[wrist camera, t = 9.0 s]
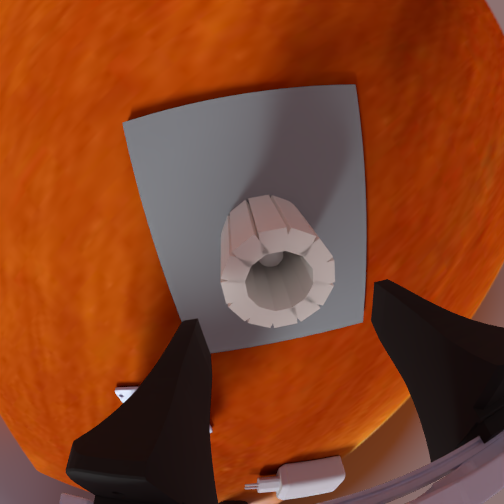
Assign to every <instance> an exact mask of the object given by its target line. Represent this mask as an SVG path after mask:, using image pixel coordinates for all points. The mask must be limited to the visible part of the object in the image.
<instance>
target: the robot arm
mask: <svg viewBox="0 0 504 504" xmlns="http://www.w3.org/2000/svg"><path fill="white" fill-rule="evenodd" d="M371 321H372V324H373V326H374V328H375V331H376V333H377V335H378V337H379V340H380V341H381V343H382V345H383V346H384V348H385V350H386V351H387V353H388V355H389V356H390V358H391V359H392V361H393V363H394V364H395V366H396V368H397V369H398V371H399V373H400V374H401V376H402V378H403V380H404V381H405V383H406V385H407V388H408V390H409V392H410V395H411V397H412V399H413V402H414V404H415V407H416V410H417V412H418V415H419V418H420V421H421V424H422V428H423V431H424V434H425V438H426V441H427V446H428V449H429V454H430V459H431V463H430V464H428V465H425V466H423V467H421V468H419V469H417V470H415V471H412V472H410V473H408V474H406V475H403V476H401V477H398V478H396V479H394V480H391V481H388V482H386V483H383V484H381V485H378V486H375V487H372V488H369V489H366V490H364V491H360V492H357V493H354V494H351V495H347V496H344V497H340V498H337V499H333V500H329V501H325V502H321V503H317V504H385V503H388V502H390V501H393V500H395V499H398V498H400V497H403V496H405V495H407V494H410V493H412V492H414V491H416V490H418V489H420V488H422V487H425V486H427V485H429V484H431V483H432V482H435V481H437V480H439V479H440V478H442V477H443V478H442V479H440V480H439V481H437V482H436V483H434V484H433V485H432V487H431V488H430V489H429V490H428V491H426V492H425V493H424V494H422V495H421V496H420V497H418V498H417V499H415V500H412V501H410V502H408V503H405V504H483V503H484V502H485V501H487V500H488V499H490V498H491V497H492V496H494V495H495V494H496V493H498V492H499V491H500V490H501V489H502V488H504V328H503V327H497V326H493V325H488V324H484V323H481V322H478V321H474V320H471V319H468V318H465V317H463V316H460V315H457V314H455V313H452V312H450V311H448V310H446V309H444V308H441V307H439V306H437V305H435V304H433V303H431V302H429V301H427V300H425V299H423V298H422V297H420V296H418V295H416V294H414V293H412V292H411V291H409V290H407V289H405V288H403V287H401V286H400V285H398V284H396V283H394V282H392V281H390V280H388V279H386V280H382V281H378V282H374V294H373V307H372V317H371ZM211 389H212V365H211V354H210V351H209V348H208V346H207V343H206V340H205V337H204V335H203V332H202V329H201V326H200V323H199V320H198V318H197V319H191V320H184V321H182V323H181V324H180V326H179V328H178V330H177V331H176V333H175V335H174V336H173V338H172V340H171V341H170V343H169V345H168V346H167V348H166V350H165V351H164V353H163V354H162V356H161V358H160V359H159V361H158V362H157V363H156V365H155V366H154V368H153V369H152V371H151V372H150V373H149V375H148V376H147V377H146V379H145V380H144V381H143V383H142V384H141V385H140V386H139V387H117V388H115V393H116V394H117V396H118V397H119V398H120V400H121V401H122V402H123V404H122V405H121V406H120V407H119V408H118V409H117V410H116V411H115V412H113V413H112V414H111V415H110V416H109V417H108V418H106V419H105V420H104V421H102V422H101V423H100V424H99V425H97V426H96V427H95V428H93V429H92V430H90V431H89V432H87V433H86V434H84V435H82V436H81V437H79V438H78V439H76V440H74V442H73V445H72V448H71V452H70V456H69V459H68V463H67V467H66V474H67V475H68V476H69V478H70V479H71V480H73V481H74V482H75V483H77V484H78V485H80V486H81V487H83V488H84V489H86V490H88V491H89V492H91V493H93V494H94V495H95V500H94V501H91V500H89V499H85V498H82V497H77V496H74V495H70V494H66V493H62V494H61V498H60V503H59V504H218V500H217V494H216V488H215V481H214V473H213V465H212V455H211V444H210V433H212V427H211V426H210V406H211ZM446 475H447V476H446ZM444 476H445V477H444Z"/></svg>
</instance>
